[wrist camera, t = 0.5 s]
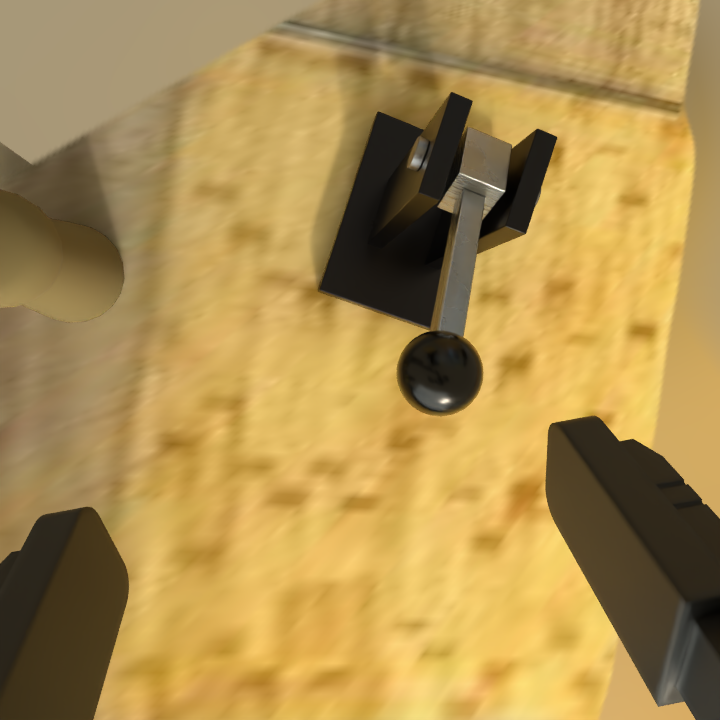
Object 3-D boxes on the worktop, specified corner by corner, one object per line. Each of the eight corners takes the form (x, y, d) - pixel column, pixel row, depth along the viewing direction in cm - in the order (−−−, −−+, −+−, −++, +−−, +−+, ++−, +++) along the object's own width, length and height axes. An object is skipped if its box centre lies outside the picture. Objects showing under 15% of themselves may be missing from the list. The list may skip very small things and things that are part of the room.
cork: (143, 291, 34) (82, 269, 23) (55, 341, 34) (-50, 343, 23) (88, 205, 33) (-1, 141, 23) (-3, 254, 33) (-140, 213, 22)
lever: (454, 436, 21) (493, 413, 19) (378, 411, 21) (407, 384, 18) (492, 188, 27) (527, 142, 24) (432, 165, 27) (461, 114, 24)
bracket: (443, 335, 37) (540, 334, 24) (317, 291, 36) (343, 263, 22) (497, 168, 37) (625, 70, 24) (374, 117, 36) (435, -17, 22)
